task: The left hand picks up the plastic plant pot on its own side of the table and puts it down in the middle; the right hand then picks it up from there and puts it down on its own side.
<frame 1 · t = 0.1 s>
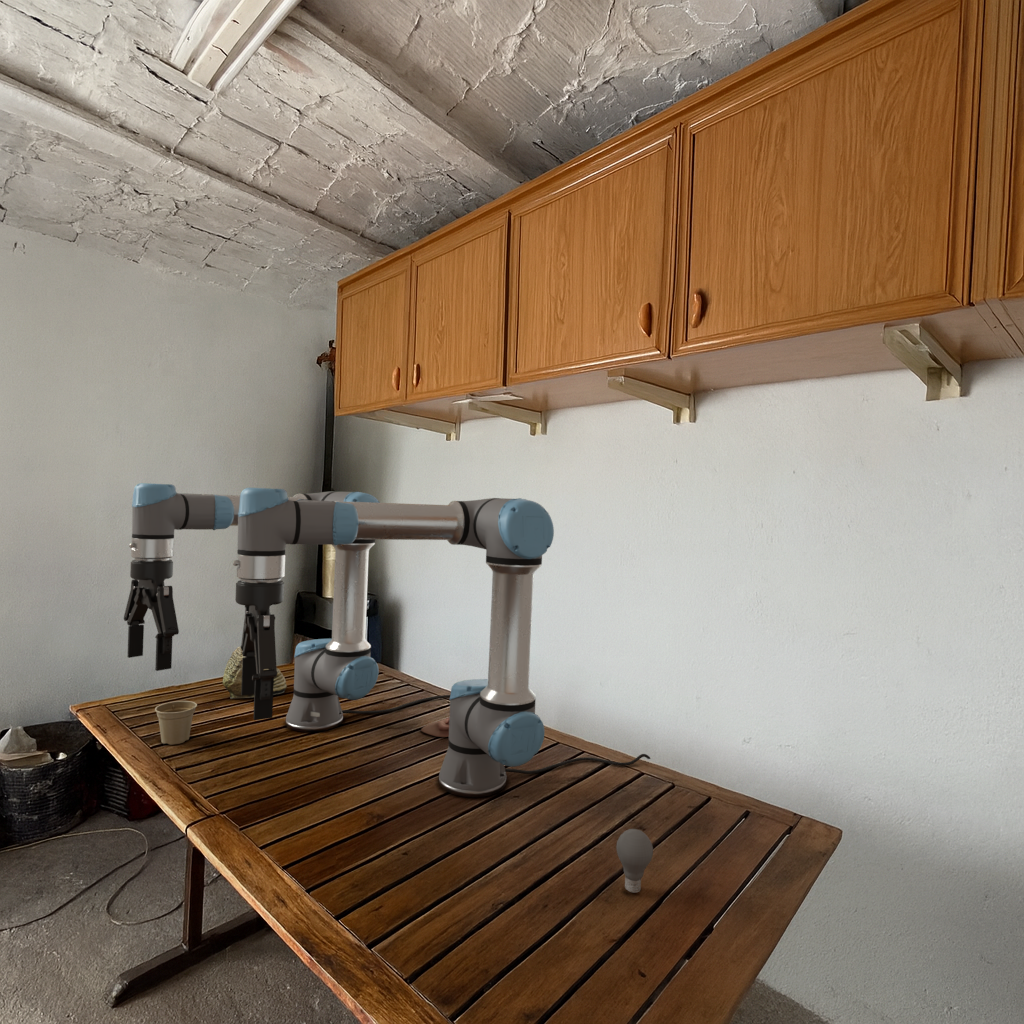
left hand: (148, 662, 129), 28 cm above the table, tool pointing down, fingers open, 13 cm apart
right hand: (255, 705, 107), 28 cm above the table, tool pointing down, fingers open, 13 cm apart
plastic plant pot: (175, 740, 160), on the table
anatomical model: (447, 730, 175), on the table
fossil: (254, 694, 198), on the table
light bulb: (632, 891, 106), on the table
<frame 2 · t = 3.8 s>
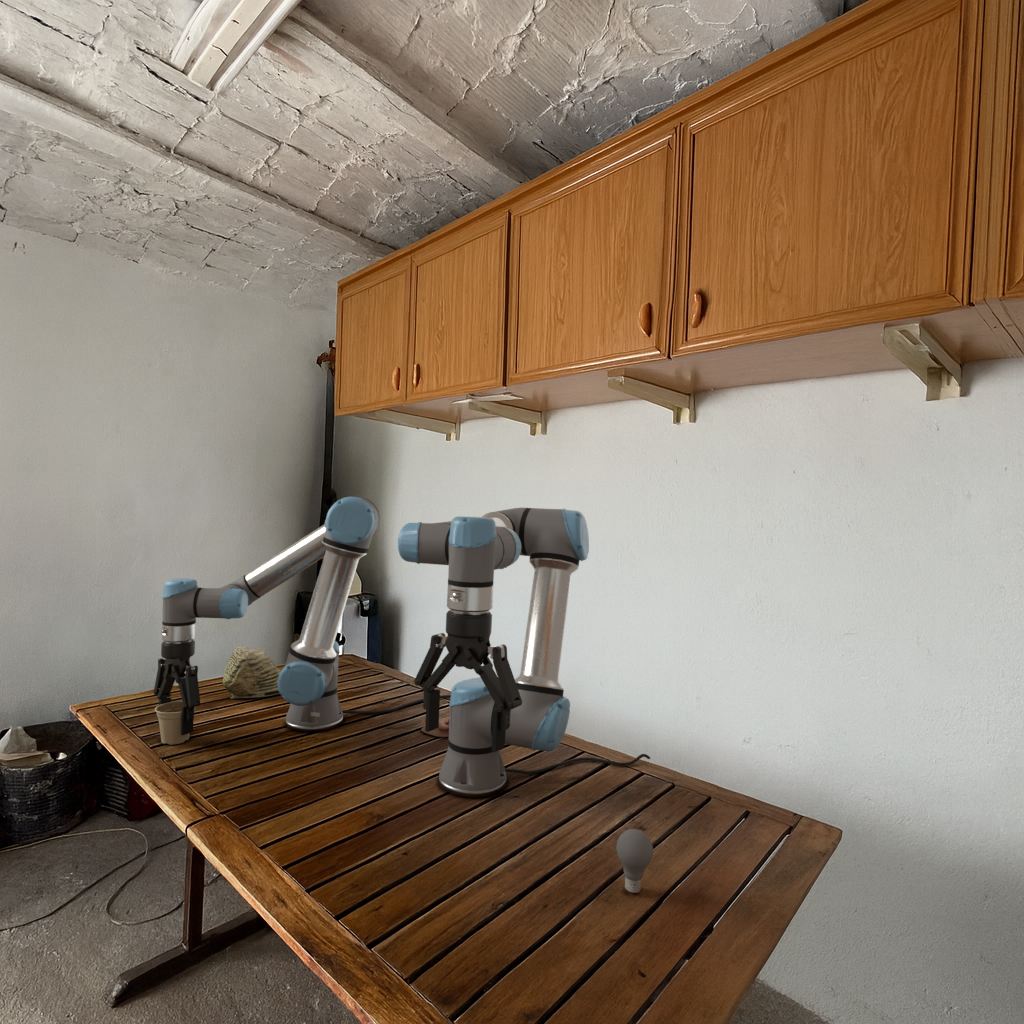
left hand: (175, 728, 160), 3 cm above the table, tool pointing down, fingers closed on plastic plant pot, 9 cm apart
right hand: (463, 738, 104), 25 cm above the table, tool pointing down, fingers open, 13 cm apart
plastic plant pot: (175, 740, 160), on the table, touching left hand
everything else where it was.
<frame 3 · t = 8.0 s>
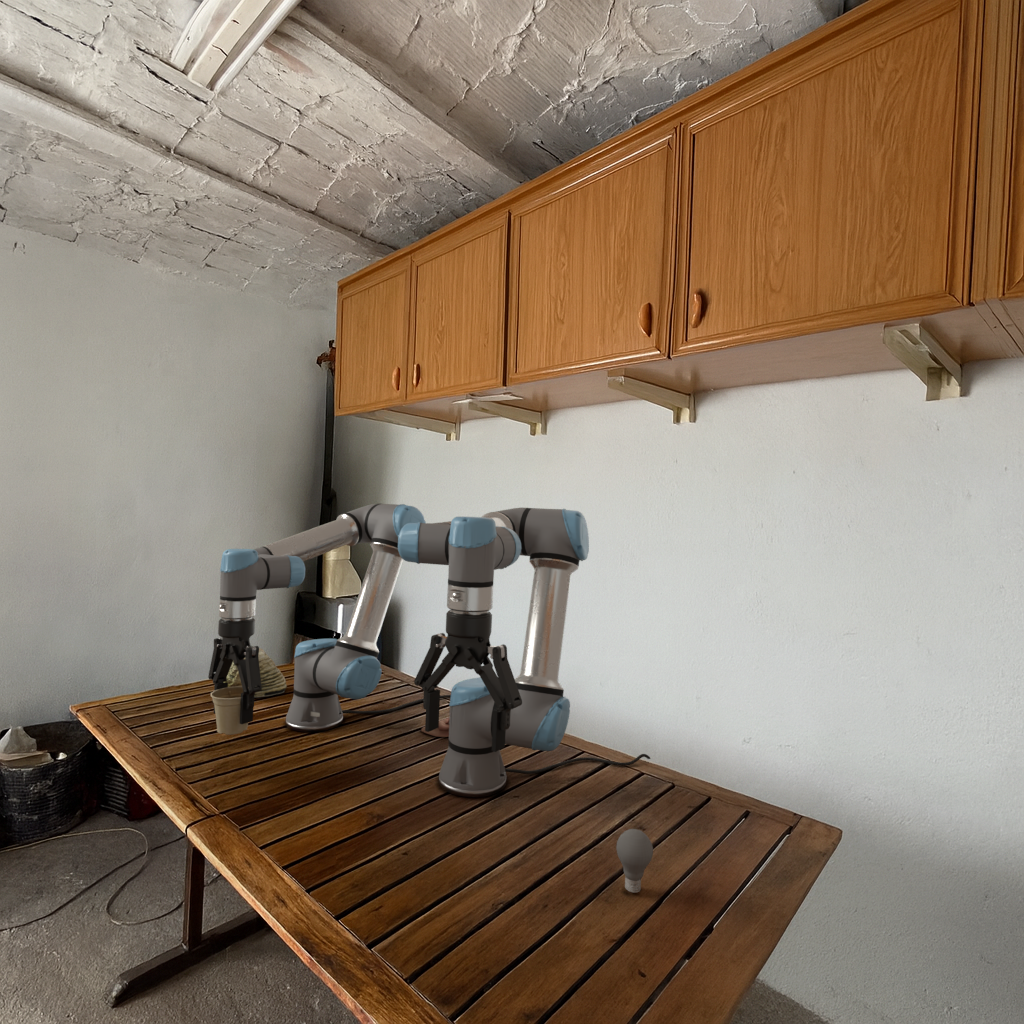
left hand: (232, 717, 142), 13 cm above the table, tool pointing down, fingers closed on plastic plant pot, 9 cm apart
right hand: (463, 738, 104), 25 cm above the table, tool pointing down, fingers open, 13 cm apart
plastic plant pot: (232, 730, 142), point 10 cm above the table, touching left hand
everything else where it was.
when the left hand's fingers open (5 cm above the table, at t = 12.3 s): plastic plant pot drops 2 cm, on the table.
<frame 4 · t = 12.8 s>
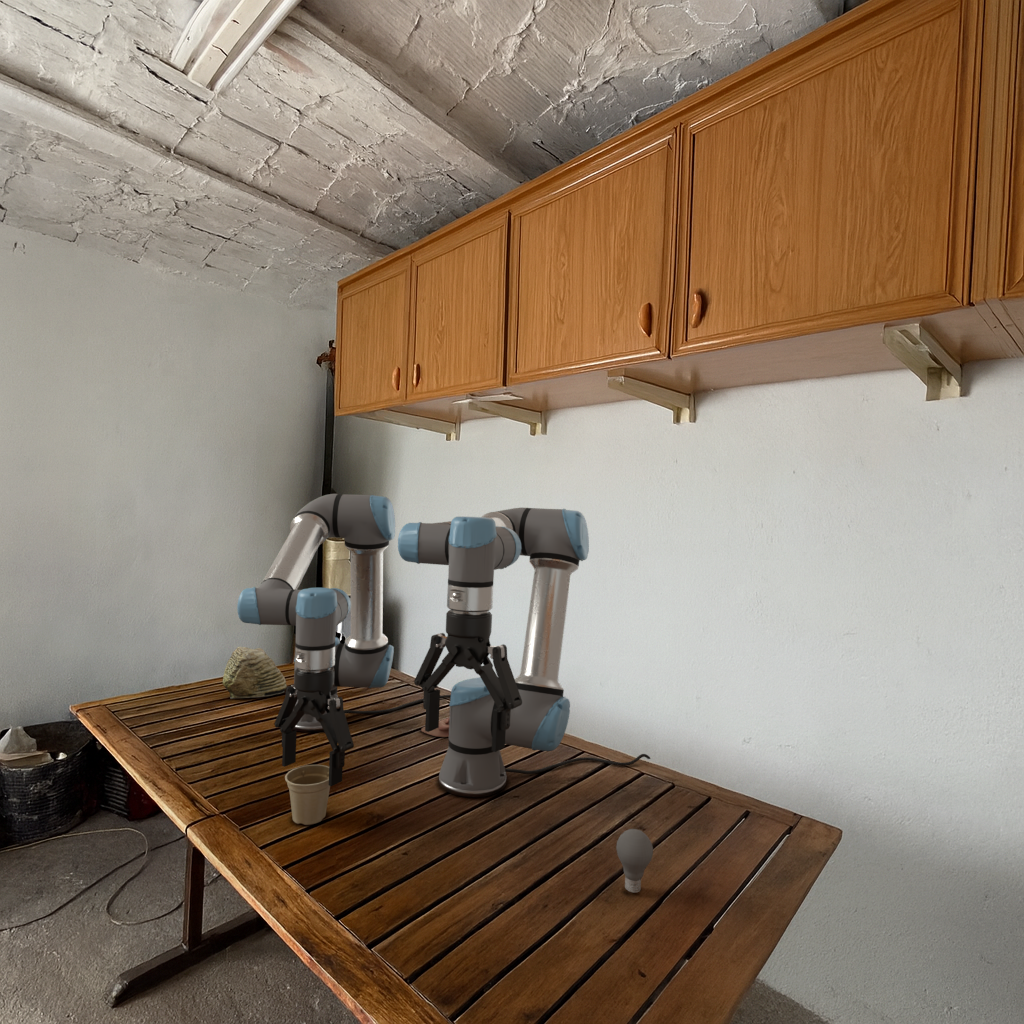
left hand: (311, 773, 125), 9 cm above the table, tool pointing down, fingers open, 13 cm apart
right hand: (463, 738, 104), 25 cm above the table, tool pointing down, fingers open, 13 cm apart
plastic plant pot: (308, 817, 125), on the table
everything else where it was.
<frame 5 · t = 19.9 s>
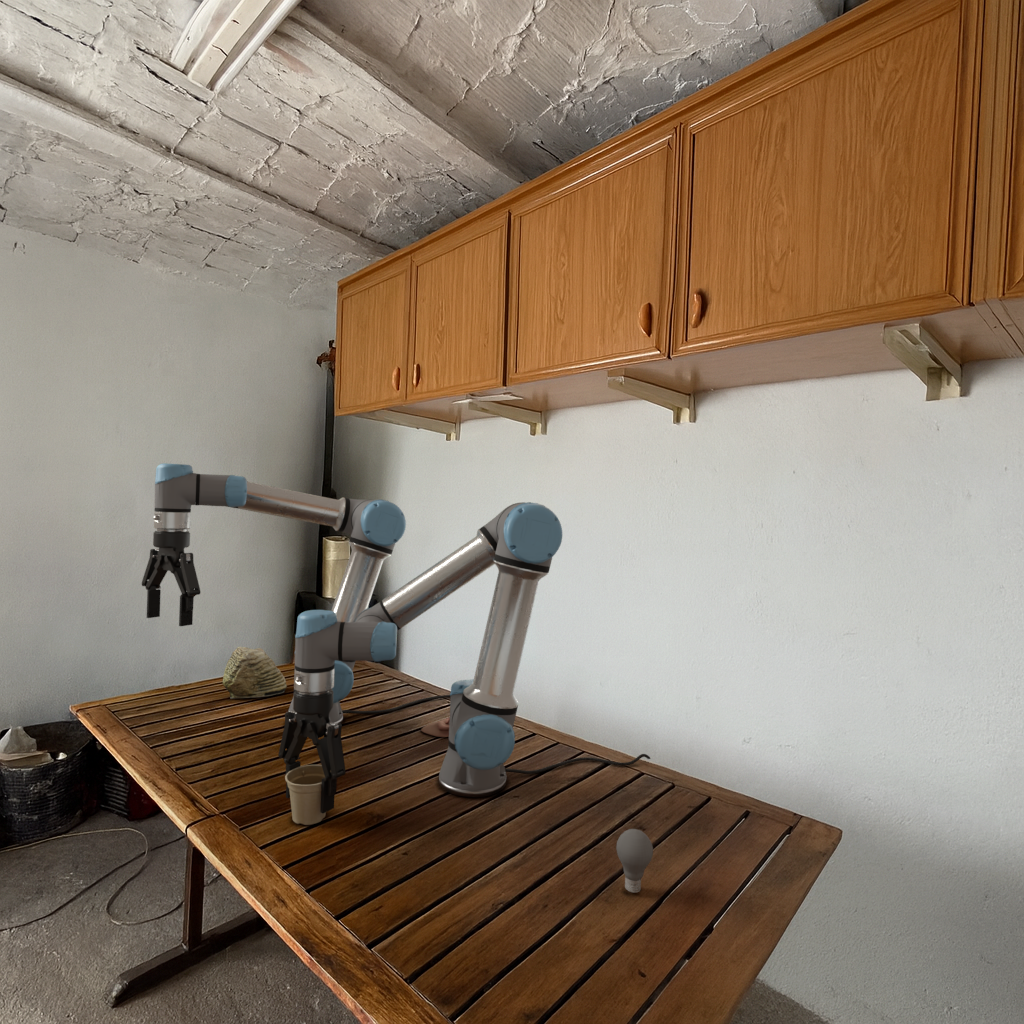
left hand: (169, 621, 147), 33 cm above the table, tool pointing down, fingers open, 13 cm apart
right hand: (309, 802, 125), 3 cm above the table, tool pointing down, fingers closed on plastic plant pot, 9 cm apart
plastic plant pot: (308, 817, 125), on the table, touching right hand
everything else where it was.
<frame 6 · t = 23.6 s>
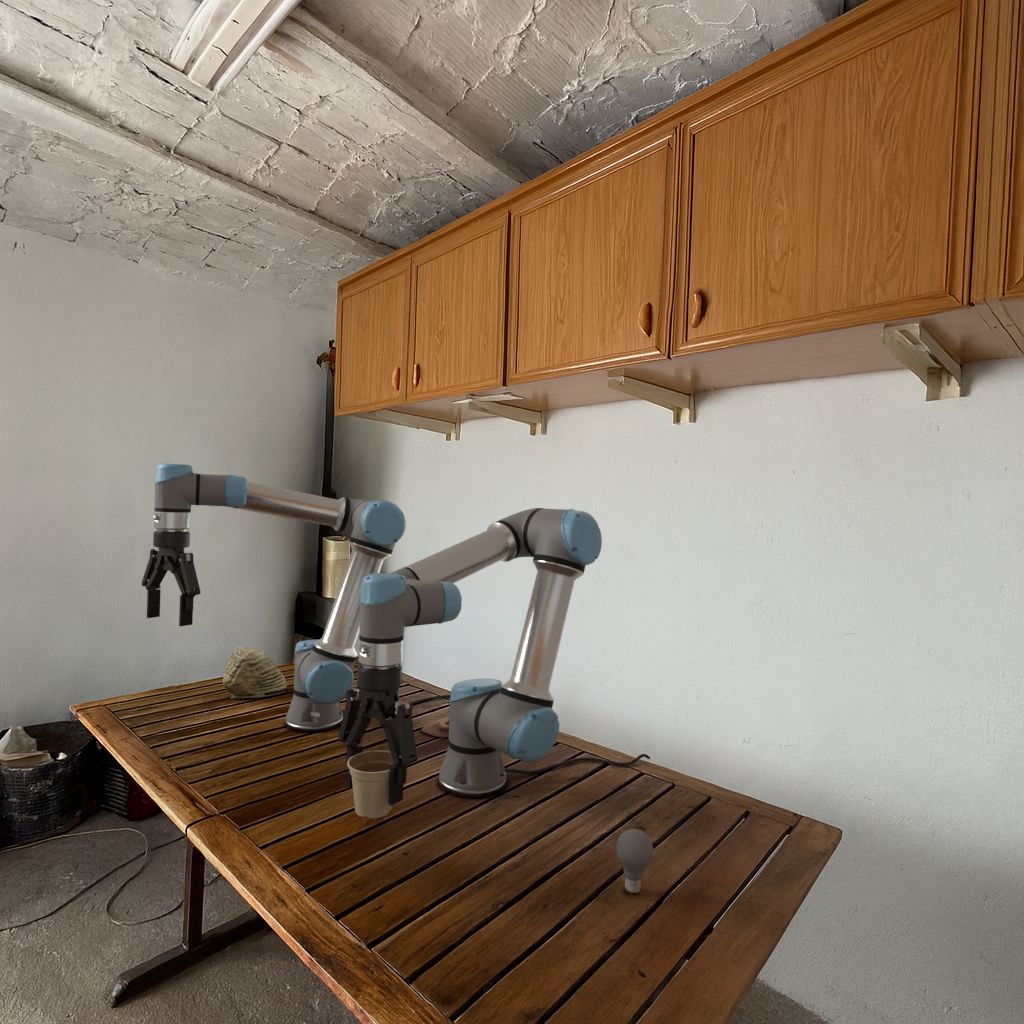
left hand: (169, 621, 147), 33 cm above the table, tool pointing down, fingers open, 13 cm apart
right hand: (374, 793, 109), 13 cm above the table, tool pointing down, fingers closed on plastic plant pot, 9 cm apart
plastic plant pot: (372, 810, 109), point 10 cm above the table, touching right hand
everything else where it was.
when the right hand's fingers open (5 cm above the table, at t = 27.6 s): plastic plant pot drops 2 cm, on the table.
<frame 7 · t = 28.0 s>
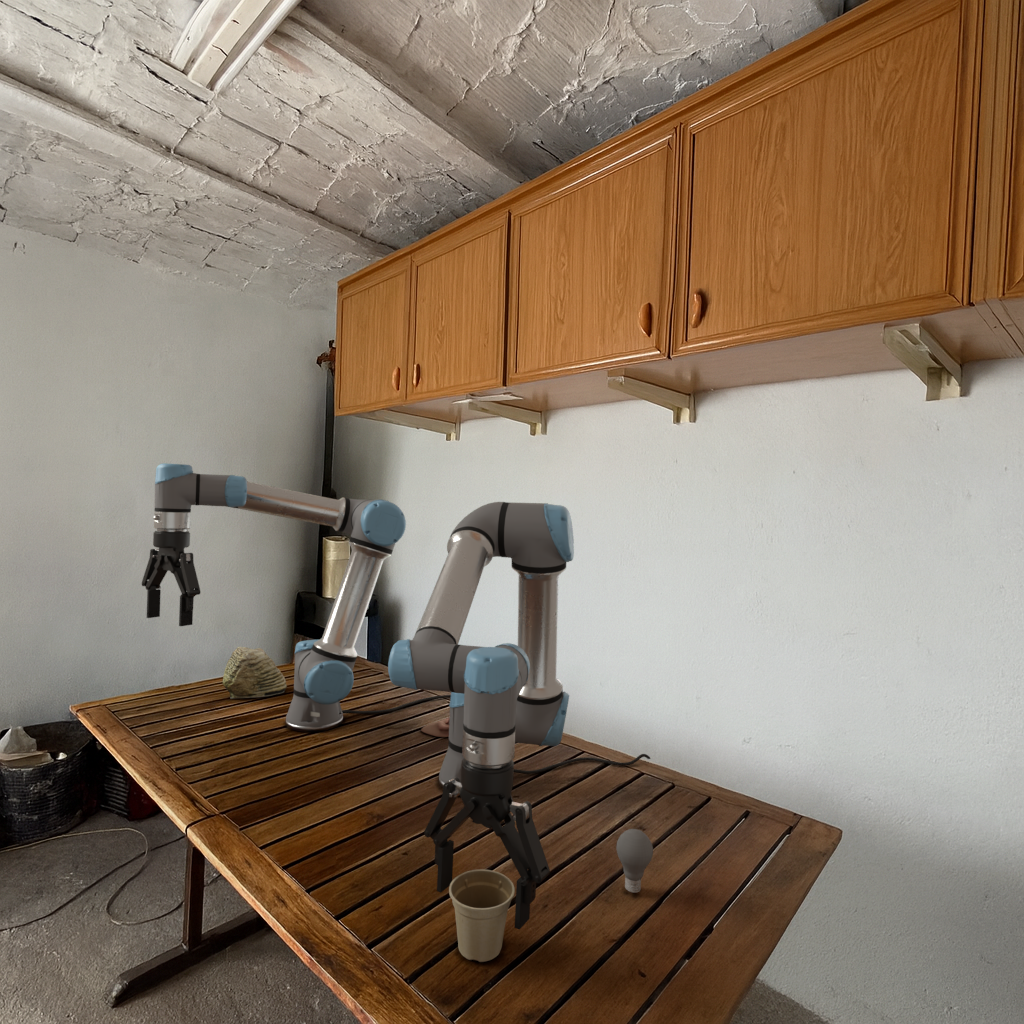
left hand: (169, 621, 147), 33 cm above the table, tool pointing down, fingers open, 13 cm apart
right hand: (481, 904, 91), 6 cm above the table, tool pointing down, fingers open, 13 cm apart
plastic plant pot: (479, 947, 91), on the table
everything else where it was.
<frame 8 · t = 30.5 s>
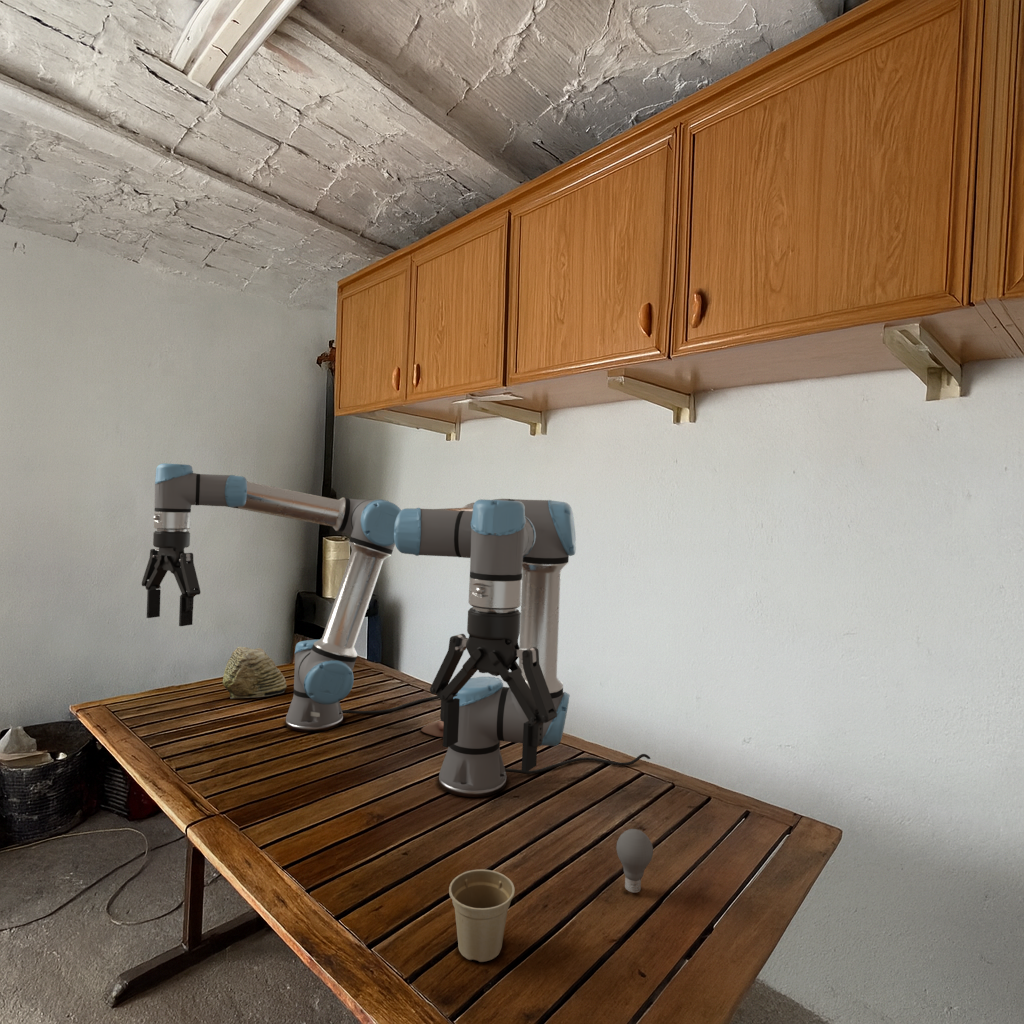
left hand: (169, 621, 147), 33 cm above the table, tool pointing down, fingers open, 13 cm apart
right hand: (488, 756, 90), 28 cm above the table, tool pointing down, fingers open, 13 cm apart
nothing on the table moved.
at the end: plastic plant pot inside the target area (0.1 cm from its centre), on the table; plastic plant pot tilted 0°; the two hands never held the plastic plant pot at the same time; the left hand is holding nothing; the right hand is holding nothing; plastic plant pot at rest at the end (0.0 cm/s) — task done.
